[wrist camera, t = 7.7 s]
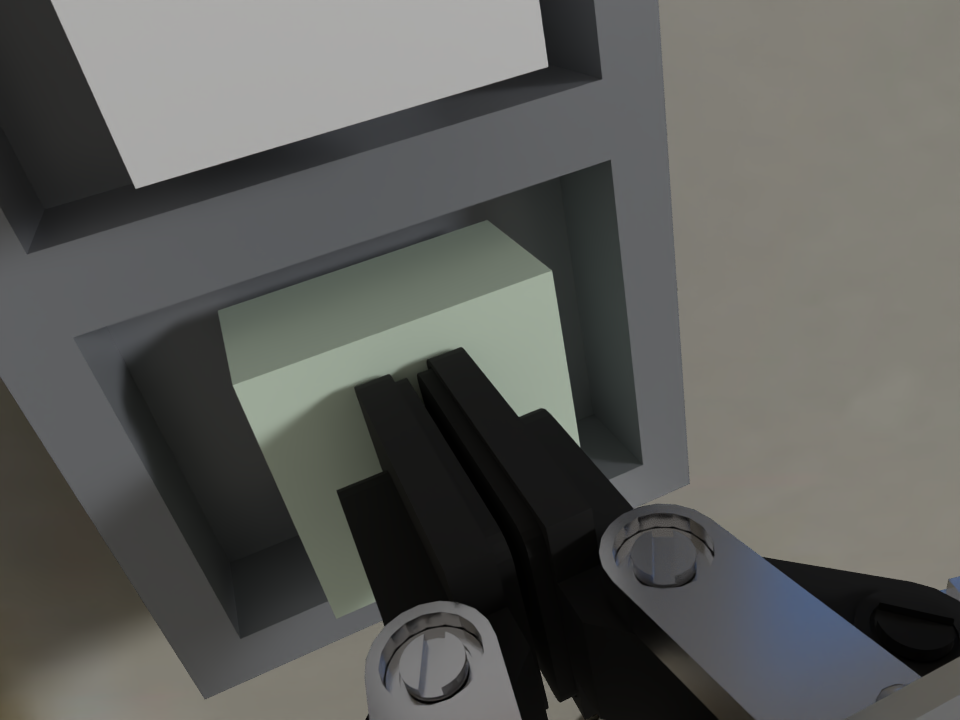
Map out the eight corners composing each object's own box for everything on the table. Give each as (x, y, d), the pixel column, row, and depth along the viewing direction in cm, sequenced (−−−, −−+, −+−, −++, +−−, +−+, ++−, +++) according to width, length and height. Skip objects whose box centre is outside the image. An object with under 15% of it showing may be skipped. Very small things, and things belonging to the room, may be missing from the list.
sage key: (530, 433, 15) (589, 508, 13) (308, 523, 14) (335, 619, 12) (487, 219, 13) (552, 270, 11) (217, 310, 12) (232, 385, 10)
